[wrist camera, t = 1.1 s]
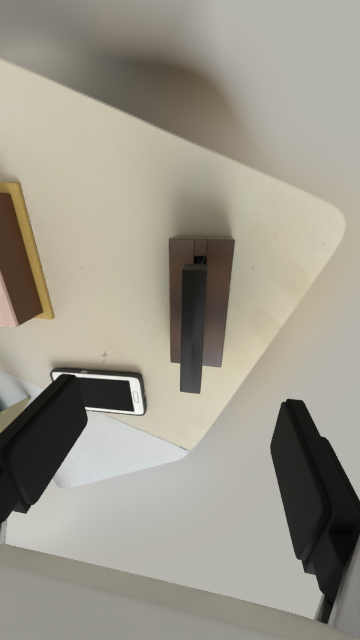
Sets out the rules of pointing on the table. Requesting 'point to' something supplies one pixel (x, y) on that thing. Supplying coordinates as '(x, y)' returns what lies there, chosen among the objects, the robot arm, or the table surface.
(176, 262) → the brown slotted box
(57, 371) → the cell phone
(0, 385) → the table surface
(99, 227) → the table surface
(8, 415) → the ice cream cone
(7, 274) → the cake
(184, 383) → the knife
